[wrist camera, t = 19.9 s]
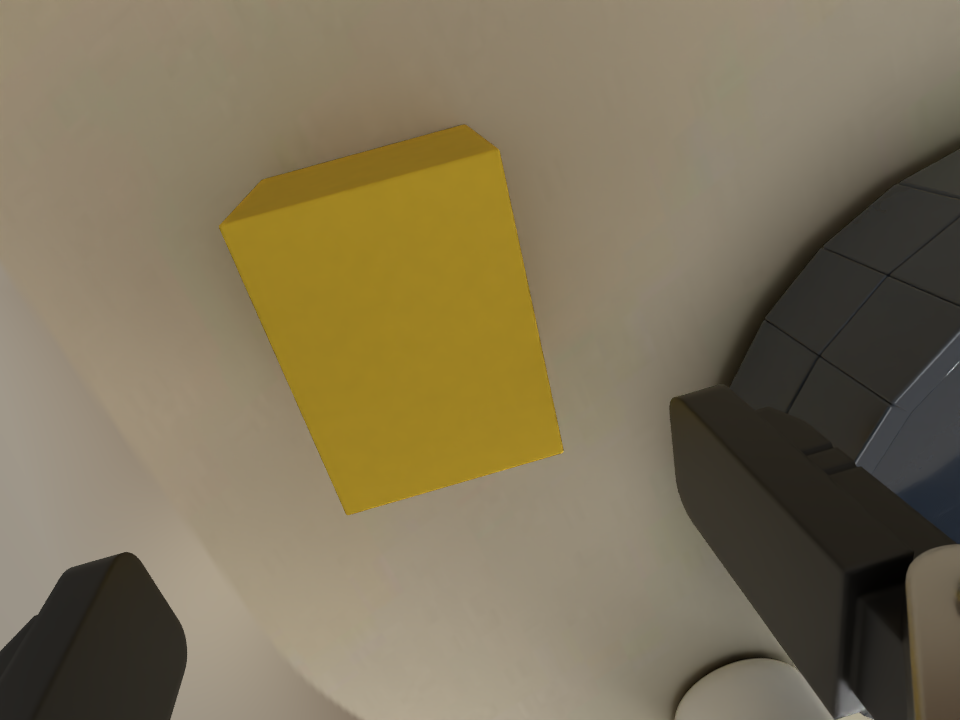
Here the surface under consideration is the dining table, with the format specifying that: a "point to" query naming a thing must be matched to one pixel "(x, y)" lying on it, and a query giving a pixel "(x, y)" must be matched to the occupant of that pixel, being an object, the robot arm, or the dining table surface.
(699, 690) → the drinking glass
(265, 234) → the sponge
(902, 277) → the bowl
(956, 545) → the robot arm
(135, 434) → the dining table surface
